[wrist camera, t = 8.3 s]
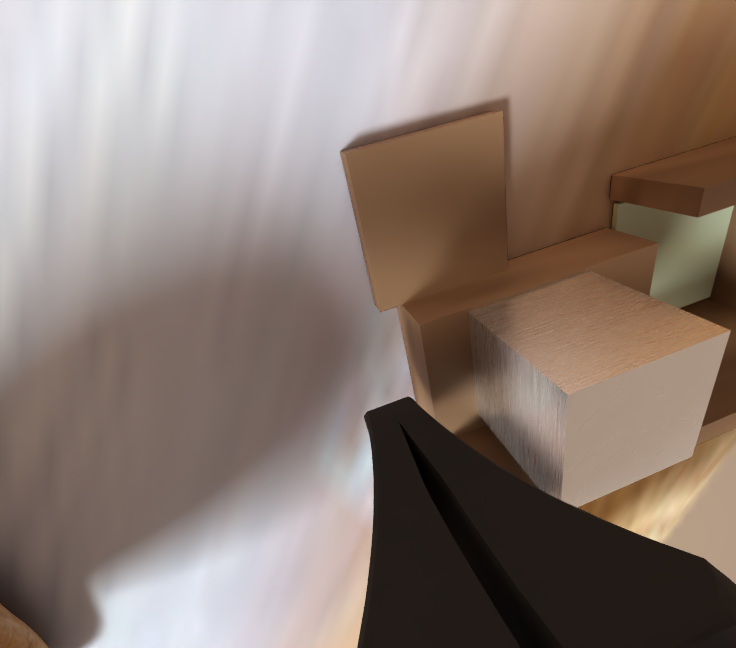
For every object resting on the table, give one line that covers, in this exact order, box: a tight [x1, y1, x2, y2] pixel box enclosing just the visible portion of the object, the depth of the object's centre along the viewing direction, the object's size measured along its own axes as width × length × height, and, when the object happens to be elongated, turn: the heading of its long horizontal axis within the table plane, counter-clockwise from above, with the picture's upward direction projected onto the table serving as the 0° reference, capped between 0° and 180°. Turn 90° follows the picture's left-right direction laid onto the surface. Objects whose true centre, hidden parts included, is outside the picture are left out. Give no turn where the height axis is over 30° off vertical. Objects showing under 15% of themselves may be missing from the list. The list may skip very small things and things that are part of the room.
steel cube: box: [468, 270, 731, 508], centre depth 11 cm, size 4×4×4 cm
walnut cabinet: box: [340, 111, 736, 488], centre depth 12 cm, size 10×15×5 cm
